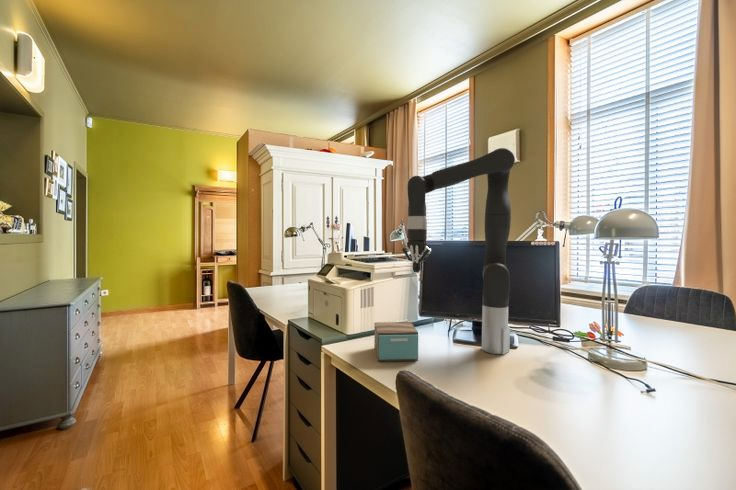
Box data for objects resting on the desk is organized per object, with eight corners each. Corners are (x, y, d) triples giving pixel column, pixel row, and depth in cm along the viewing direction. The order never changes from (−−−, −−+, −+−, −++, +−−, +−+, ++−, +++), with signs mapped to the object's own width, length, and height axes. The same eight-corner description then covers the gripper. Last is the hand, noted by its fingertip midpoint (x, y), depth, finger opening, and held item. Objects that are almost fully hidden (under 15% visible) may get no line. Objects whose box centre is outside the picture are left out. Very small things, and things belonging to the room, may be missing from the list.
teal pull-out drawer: (418, 359, 123) (418, 335, 123) (379, 360, 122) (379, 336, 122) (410, 346, 137) (410, 325, 137) (375, 347, 136) (375, 325, 136)
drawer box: (417, 360, 125) (418, 332, 125) (378, 361, 124) (378, 333, 124) (410, 347, 139) (410, 321, 139) (374, 348, 138) (374, 322, 138)
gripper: (397, 228, 142) (397, 271, 143) (426, 228, 133) (426, 274, 134) (408, 228, 148) (408, 270, 148) (436, 228, 139) (436, 272, 140)
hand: (416, 272), depth 141 cm, fingers closed
